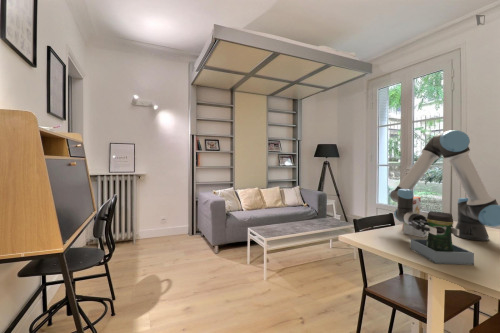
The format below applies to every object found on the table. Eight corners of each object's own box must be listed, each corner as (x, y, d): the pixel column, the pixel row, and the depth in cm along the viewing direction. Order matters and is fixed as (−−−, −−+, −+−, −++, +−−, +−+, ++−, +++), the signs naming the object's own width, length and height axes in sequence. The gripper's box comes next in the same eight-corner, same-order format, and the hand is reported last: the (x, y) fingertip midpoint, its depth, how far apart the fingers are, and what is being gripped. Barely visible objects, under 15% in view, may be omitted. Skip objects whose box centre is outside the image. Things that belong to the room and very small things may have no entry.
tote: (443, 249, 118) (443, 239, 118) (473, 264, 100) (474, 253, 100) (410, 248, 119) (410, 238, 119) (435, 263, 101) (435, 251, 101)
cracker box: (412, 231, 151) (413, 198, 151) (402, 229, 156) (402, 197, 155) (420, 227, 159) (421, 196, 159) (410, 226, 164) (410, 195, 164)
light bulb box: (427, 235, 141) (428, 217, 141) (423, 237, 137) (423, 219, 137) (407, 231, 150) (408, 214, 150) (402, 233, 146) (403, 215, 146)
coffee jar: (453, 252, 109) (454, 212, 109) (452, 257, 103) (453, 215, 103) (427, 247, 116) (428, 209, 116) (424, 251, 110) (425, 211, 110)
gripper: (436, 227, 127) (472, 241, 104) (394, 226, 128) (421, 239, 106) (436, 213, 127) (473, 224, 104) (394, 212, 128) (421, 223, 106)
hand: (447, 232), depth 105 cm, fingers closed on coffee jar, 9 cm apart
